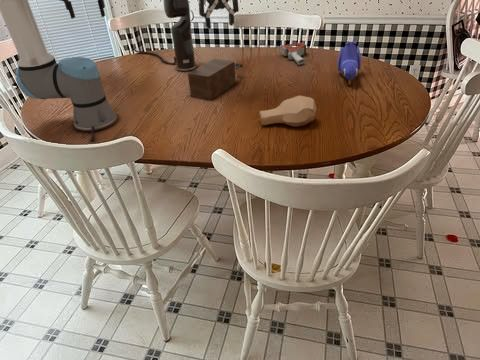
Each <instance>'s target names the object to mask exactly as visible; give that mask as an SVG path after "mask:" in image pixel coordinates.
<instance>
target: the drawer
mask: <svg viewBox="0 0 480 360" xmlns="http://www.w3.org/2000/svg"><path fill="white" fill-rule="evenodd" d="M234 62H235V79H236V81H237V80H238V75H237V69H239V68H243V63H241V62H236V61H234Z"/></svg>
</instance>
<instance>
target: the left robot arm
mask: <svg viewBox="0 0 480 360" xmlns="http://www.w3.org/2000/svg"><path fill="white" fill-rule="evenodd" d="M59 1H61V2H63V3H64V6H65V9H66V11H68V13H69V15H70V18H71V19H72V20H73V19H75V18H76V14H75V11H74V7H73V5H72V1H71V0H59ZM97 6H98V9H99V12H100V15H101V18H104V17H106V12H105V8H106V5H105V0H97ZM31 7H32V6H31V4H30V2H29V0H0V15H1V17H2V19H3V22H4V24H5V26H6V29H7V31H8V33H9V36H10V38H11V41H12V43H13V45H14V48H15V50H16V52H17V55H18V57H19V59H18V60H17V64H16V65H17V66H18V67H17V68H16V69H15V72H14V73H15V81H16V84H17V86H18V88H19V89H20V91H21V92H22V93H23V94H24V95H25V96H26V97H28V98H31V99H33V100H37V99H38V100H50V99H51V100H53V99H70V101H71V104H72V108H73V114H72V117H73V118H72V119H73V125H74V128H75V129H76V131H78V132H84V133H91V137H90V138H91V139H90V142H93V141H94V139H95V138H94V136H95V134H94V133H95V132H99V131H102V130H105V129H107V128H110V127H111V126H113V125H115V124H116V122H117V121H118V116H117V113H116V111H115V110H114V108H113V107H112V105H111V103H110V102H109V101H108V99H107V96H106V92H105V89H104V87H103V86H104V85H103V83H102V79H101V73H100V71H99V69H98V66H97V64H96V62H95V61H94V60H92V59H91V58H88V57H84V56H72V57H65V58H62V59H60V60H59V61H58V62H57V60H56V57H55V56H54V55H53V54H51V53H50V52H48V50H47V47H46V45H45V42H44V39H43V36H42V34H41V31H40V28H39V26H38V23H37V21H36V18H35V16H34V13H33V9H32V8H31Z"/></svg>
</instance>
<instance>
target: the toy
mask: <svg viewBox="0 0 480 360" xmlns="http://www.w3.org/2000/svg"><path fill="white" fill-rule="evenodd" d="M356 44H358V43H357V41H355V40H353V41H351V42H350V41H346V42H345V45H344V46H341V47H340V50H339V53H338V56H337V61H336V62H337V63H336V68H337V71H339V73H340V74H341V75H342V76H343V77H344V78H345V80H347V83H348V86H350V85H351V83H352V81H353V80H354V79H356V77H357V76H358V75H359V71H360V70H361V67H362V54H361V50H360V46H359V45H357V46H356Z"/></svg>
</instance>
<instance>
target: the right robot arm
mask: <svg viewBox="0 0 480 360" xmlns="http://www.w3.org/2000/svg"><path fill="white" fill-rule="evenodd" d="M229 1H230V0H198V13H199V16H200V17H202V18H204V19H205V22H204V23H205V27H206V28H207V29H208V30H211V29H212V25H211V24H212V23H211V22H212V21H211V17H210V16H211V15H212V13H213V12H214V10H215V11H217V10H218V11H219V10H224V9H225V10H226V11H227V12H228V25H229V26H234V24H235V14H236V13H238V12H239V10H240V9H239V8H240V7H239V0H231V2H232V7H231V6H230V4H229ZM206 2H207V4H208V5H207V8H206V11H205V5H206ZM163 11H164V13H165V16H166V17H167V19H168V18H169V19H175V18H179V20H178V21H177V22H175V23H174V24H172V25H171V27H170V32H171V37H172V43H173V50H174V56H173V62H169V61H167V60H164V58H163V57H162V56H161V55H159V54H158V53H155V52H150V51H142V50H141V51H140V50H137V49H136V48H134V47H133V48H132V49H131V52H135V53H137V54H146V55H152V56H155V57H157V58H159V59H160V60H161V61H162V63H165V64H167V65H170V66H172V65H173V66H175V65H176V70H177V71H179V72H189V71H190V72H191V71H193V70H195V69H197V66H196V58H195V51H194V43H193V42H194V41H193V36H192V21H191V8H190V1H189V0H163Z"/></svg>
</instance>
